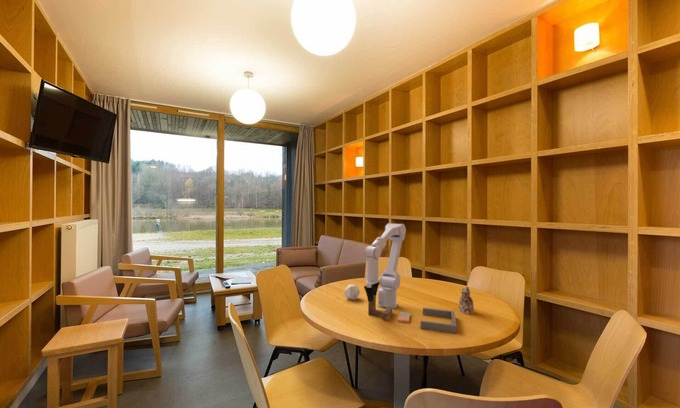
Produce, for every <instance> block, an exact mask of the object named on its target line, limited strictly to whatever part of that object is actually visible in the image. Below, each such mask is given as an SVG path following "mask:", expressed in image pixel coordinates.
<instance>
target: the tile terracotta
mask: <svg viewBox="0 0 680 408" xmlns="http://www.w3.org/2000/svg"><path fill="white" fill-rule="evenodd" d="M397 322H398V323H403V324H405V323H406V324H410V319H409V317H406V316H399V315H398V317H397Z"/></svg>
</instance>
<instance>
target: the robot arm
mask: <svg viewBox="0 0 680 408" xmlns="http://www.w3.org/2000/svg"><path fill="white" fill-rule="evenodd" d="M406 229H407V228H406V226H405V224H404V223H391V222H388V223H387V224H386V225H385V226H384V232H383V233H382V235H380V236H378V237H376V239H374V241H373V242H372V243H371V244H370V245H368V246H366V247H365V249H364V257H365V262H366V272H365V273H366V277H365V278H366V279H365V282H366V285H363V288H364V291H365V293H366V296H367V297H366V298H367V301H371V302H372V301H373V297H374V295H376V296H377V295H378V296H377V297H378V298H377V299H378V302H377V303H378V305H377V306H378V307H380V308H387V306H390V307H392V309H396V308H397V307H398V304H399V303H398V302H397V290H398V289H399V288H400V285H401V276H400V274H399V272H398V271H397V270H398V264H399V260H400V259H399V258H400V255H401V249H402V243H403V241H405V237H406V233H407V230H406ZM389 239H390V241H392V243H391V249H390V253H389V256H388V262H387V267H386V269H385V270H384V271H383V270H382V272H381V275H380V276H379V259H380V257H381V255H382V252H383V249H384V248H385V247H386V246H387V241H388V240H389ZM379 277H380V278H379ZM379 286H380V287H379ZM377 293H378V294H377Z"/></svg>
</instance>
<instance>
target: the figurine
mask: <svg viewBox="0 0 680 408" xmlns="http://www.w3.org/2000/svg"><path fill="white" fill-rule="evenodd" d="M460 291H461V296H460V297H459V299H458V300H459V302H458V307H457V308H458V312H459V313H461V314H464V315H473V314H474V311H475V309H474V300H473V299H472V297H471V291H470V288H469V287H468V286H466V287H464V288H462V290H460Z"/></svg>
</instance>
